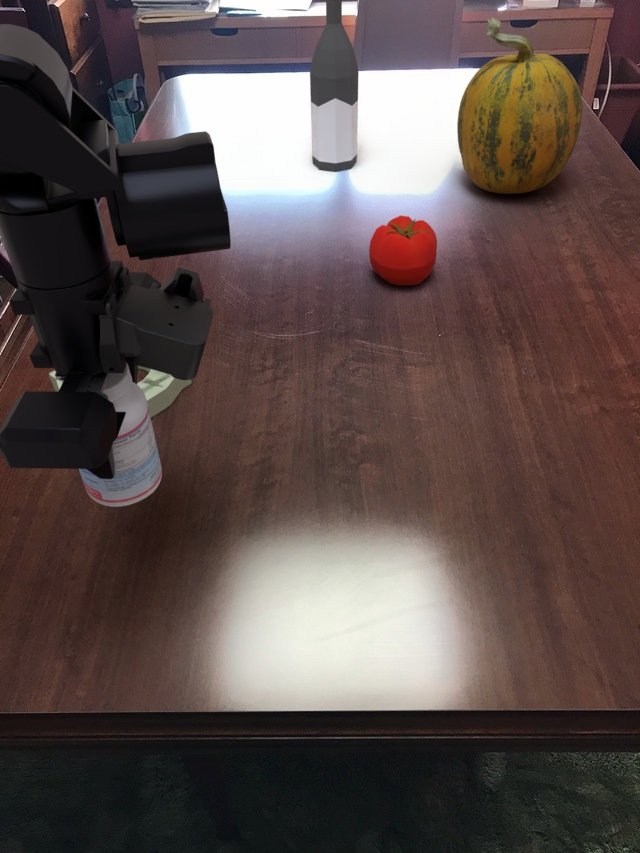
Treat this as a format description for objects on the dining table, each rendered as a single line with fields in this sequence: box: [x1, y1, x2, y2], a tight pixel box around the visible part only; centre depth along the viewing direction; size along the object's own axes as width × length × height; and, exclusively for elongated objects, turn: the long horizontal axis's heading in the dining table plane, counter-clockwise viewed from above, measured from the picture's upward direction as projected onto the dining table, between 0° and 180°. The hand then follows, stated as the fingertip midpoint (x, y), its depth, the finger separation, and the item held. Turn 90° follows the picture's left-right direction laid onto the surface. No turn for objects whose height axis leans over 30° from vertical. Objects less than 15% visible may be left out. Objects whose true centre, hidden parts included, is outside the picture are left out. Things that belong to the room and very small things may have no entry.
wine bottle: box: [309, 0, 359, 173], centre depth 114 cm, size 8×8×30 cm
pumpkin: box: [456, 17, 583, 195], centre depth 108 cm, size 19×19×25 cm
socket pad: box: [48, 366, 193, 419], centre depth 78 cm, size 13×13×2 cm
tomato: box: [368, 215, 438, 286], centre depth 93 cm, size 9×9×8 cm
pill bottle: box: [62, 363, 163, 508], centre depth 52 cm, size 6×6×11 cm
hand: (118, 447), depth 53 cm, fingers closed on pill bottle, 6 cm apart
